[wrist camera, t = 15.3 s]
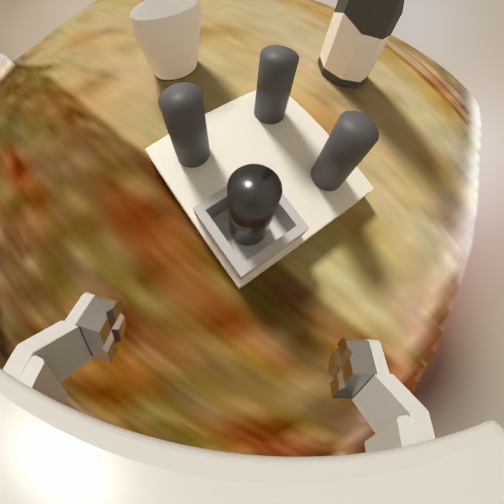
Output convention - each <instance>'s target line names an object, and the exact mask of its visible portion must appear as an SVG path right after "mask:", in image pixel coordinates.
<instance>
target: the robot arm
mask: <svg viewBox="0 0 504 504" xmlns="http://www.w3.org/2000/svg"><path fill="white" fill-rule="evenodd" d="M121 311H122V305H121V302H118V301H115V300H111V299H108V298H104V297H101V296H98V295H94V294H91V293H87V292H86V293H84V294H83V295H82V296H81V297H80V299H79V300H78V302H77V303H76V305H75V306H74V308H73V309H72V311H71V312H70V314H69V315H68V317H67V318H66V320H65V321H60V322H58V323H56V324H54V325H52V326H50V327H49V328H47V329H45V330H43V331H41V332H39V333H38V334H36V335H34V336H32V337H30V338H29V339H27V340H25V341H23V342H21V343H20V344H18V345H17V346H16V348H15V349H14V351H13V353H12V354H11V356H10V358H9V359H8V361H7V363H6V365H5V366H4V368H3V370H2V369H1V368H0V504H504V430H503V428H502V427H501V426H500V425H499V424H498V423H496V422H495V421H493V420H490V421H486V422H483V423H481V424H478V425H476V426H473V427H470V428H468V429H465V430H462V431H459V432H456V433H453V434H450V435H446V436H443V437H439V438H436V439H435V436H434V432H433V427H432V423H431V420H430V416H429V412H428V410H427V409H426V408H425V407H424V406H423V405H422V404H421V403H420V402H419V401H418V400H417V399H416V398H415V397H414V396H413V395H412V394H411V392H410V391H409V390H408V389H407V388H406V387H405V386H404V385H403V384H402V383H401V382H400V381H399V380H398V379H397V378H396V377H395V376H394V375H393V374H390V373H389V370H388V367H387V363H386V360H385V356H384V353H383V350H382V347H381V343H380V342H379V340H368V339H367V340H366V339H353V338H342V339H341V340H340V341H339V343H338V349H336V350H334V351H333V353H332V354H331V356H330V360H329V374H330V375H331V376H332V378H333V381H332V382H331V391H332V398H340V399H352V401H353V402H354V404H355V405H356V406H357V408H358V409H359V411H360V412H361V414H362V415H363V416H364V418H365V419H366V421H367V422H368V424H369V425H370V427H371V428H372V429H373V431H374V432H375V434H374V435H373V436H371V437H370V438H369V439H367V440H366V441H365V451H366V453H357V454H347V455H335V456H314V457H283V456H262V455H249V454H239V453H230V452H223V451H216V450H209V449H203V448H198V447H192V446H187V445H182V444H178V443H173V442H169V441H165V440H161V439H157V438H153V437H150V436H146V435H143V434H139V433H136V432H133V431H130V430H127V429H123V428H121V427H118V426H115V425H112V424H109V423H106V422H104V421H101V420H99V419H96V418H93V417H91V416H89V415H86V414H84V413H81V412H79V411H77V410H75V409H72V408H70V407H68V406H66V405H64V404H65V401H66V399H67V396H68V394H67V392H66V390H65V389H64V388H63V386H62V385H61V384H60V383H61V382H63V381H64V380H65V379H66V378H68V377H69V376H70V375H71V374H73V373H74V372H75V371H77V370H78V369H79V368H80V367H82V366H83V365H84V364H86V363H87V362H88V361H89V360H91V359H92V357H94V358H97V359H101V360H104V361H107V362H112V360H113V358H114V355H115V353H116V351H117V346H116V343H118V342H119V341H121V340H122V338H123V336H124V332H125V328H126V322H125V317H124V316H123V315H122V314H121Z"/></svg>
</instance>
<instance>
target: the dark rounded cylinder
mask: <svg viewBox="0 0 504 504" xmlns="http://www.w3.org/2000/svg"><path fill="white" fill-rule="evenodd" d="M281 196H282V183H281V181H280V178H279V177H278V175H277V174H276V173H275V172H274V171H273V170H272V169H270V168H269V167H266V166H264V165H260V164H247V165H244V166H241V167H239V168H238V169H236V170H235V171H234V172H233V173H232V174H231V176H230V178H229V180H228V183H227V198H228V214H229V229H230V234H231V236H232V238H233V239H234V240H235V241H236V242H237V243H239V244H241V245H245V246H252V245H255V244H258V243H259V242H260V241H262V240H263V238H264V237H265V235H266V232H267V230H268V228H269V225H270V223H271V220H272V218H273V215H274V213H275V211H276V208H277V206H278V203H279V201H280V199H281Z"/></svg>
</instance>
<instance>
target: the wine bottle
mask: <svg viewBox="0 0 504 504" xmlns="http://www.w3.org/2000/svg"><path fill="white" fill-rule="evenodd" d="M403 4H404V0H338V2H337V5H336V8H335V11H334V14H333V17H332V20H331V23H330V27H329V30H328V33H327V36H326V39H325V42H324V45H323V48H322V51H321V54H320V57H319V60H318V64H319V67H320V70H321V73H322V75H323V76H325V77H326V78H328V79H329V80H331V81H332V82H334V83H335V84H337V85H339V86H345V87H352V88H357V87H358V86H359V85H361V84H362V83H363V82H364V81H365V80H366V79H367V77H368V75H369V74H370V72H371V70H372V68H373V66H374V64H375V63H376V61H377V59H378V57H379V55H380V53H381V51H382V50H383V48H384V46H385V44H386V42H387V40H388V38H389V37H390V35H391V33H392V31H393V29H394V27H395V25H396V23H397V21H398V20H399V18H400V16H401V14H402V10H403Z"/></svg>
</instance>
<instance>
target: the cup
mask: <svg viewBox="0 0 504 504" xmlns="http://www.w3.org/2000/svg"><path fill="white" fill-rule="evenodd" d="M130 20H131V25H132V31H133V34H134V36H135V38H136V40H137V42H138V44H139V46H140V48H141V49H142V51H143V53H144V55H145V57H146V59H147V61H148V63H149V65H150V67H151V68H152V70H153V72H154V74H155V76H156V77H158V78H160V79H164V80H173V79H178V78H182V77H184V76H186V75H188V74H190V73H191V72H192V71H193V70H194V69H195V68H196V66H197V60H198V48H199V37H200V27H201V11H200V4H199V0H145V1H143V2H141V3H139V4H138V5H136V6H135V7H134V8H133V9H132V10H131V12H130Z"/></svg>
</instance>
